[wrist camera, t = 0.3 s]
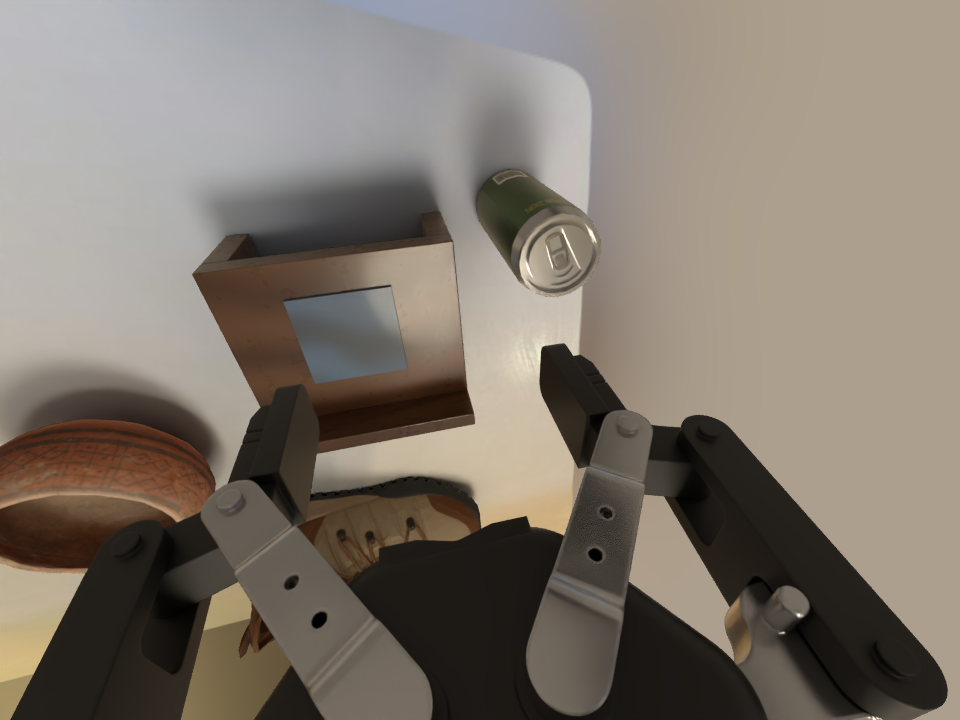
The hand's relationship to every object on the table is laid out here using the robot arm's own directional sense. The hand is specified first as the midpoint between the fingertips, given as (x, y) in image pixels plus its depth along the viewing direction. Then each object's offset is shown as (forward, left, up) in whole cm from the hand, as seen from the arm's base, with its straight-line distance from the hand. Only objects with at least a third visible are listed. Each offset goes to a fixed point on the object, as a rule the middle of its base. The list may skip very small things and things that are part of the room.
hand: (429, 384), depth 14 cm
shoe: (+37, -10, -22) cm, 44 cm away
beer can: (+1, +8, -22) cm, 24 cm away
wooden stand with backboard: (+8, -5, -22) cm, 24 cm away
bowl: (+20, -29, -22) cm, 41 cm away
